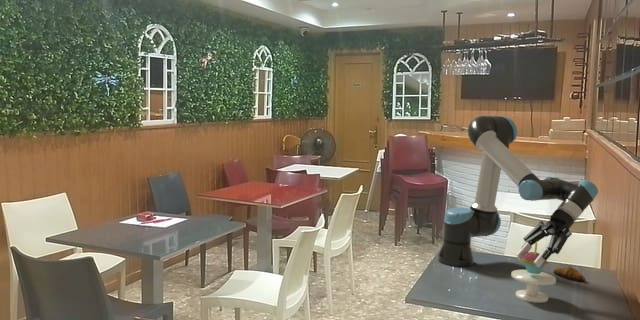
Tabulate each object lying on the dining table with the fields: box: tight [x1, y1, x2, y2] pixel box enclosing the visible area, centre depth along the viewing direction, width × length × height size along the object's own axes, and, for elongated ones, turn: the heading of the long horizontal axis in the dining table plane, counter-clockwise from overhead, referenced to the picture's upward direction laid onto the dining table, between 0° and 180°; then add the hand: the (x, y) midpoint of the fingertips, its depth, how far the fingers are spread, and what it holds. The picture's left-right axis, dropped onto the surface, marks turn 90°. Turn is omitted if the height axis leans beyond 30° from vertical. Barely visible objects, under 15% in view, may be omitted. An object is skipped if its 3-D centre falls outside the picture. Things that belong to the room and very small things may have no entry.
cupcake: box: [521, 241, 548, 274], centre depth 196 cm, size 9×8×12 cm
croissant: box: [553, 266, 586, 283], centre depth 224 cm, size 14×7×5 cm, turn 33°
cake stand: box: [511, 269, 557, 304], centre depth 197 cm, size 15×15×8 cm
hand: (527, 261), depth 195 cm, fingers closed on cupcake, 8 cm apart
